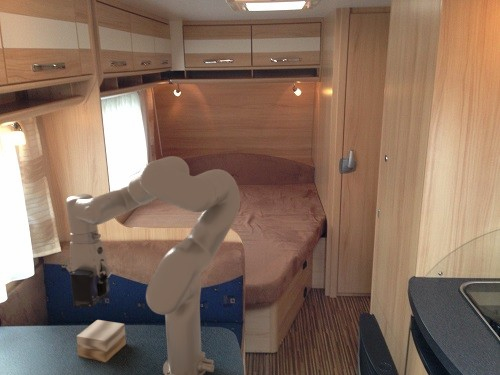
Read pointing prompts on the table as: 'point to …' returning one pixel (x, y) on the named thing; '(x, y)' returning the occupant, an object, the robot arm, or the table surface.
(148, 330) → the table surface
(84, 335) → the ash slab
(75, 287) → the small box
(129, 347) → the table surface
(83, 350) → the oak slab
